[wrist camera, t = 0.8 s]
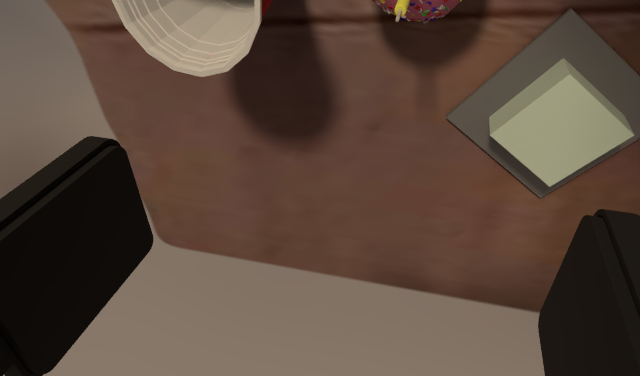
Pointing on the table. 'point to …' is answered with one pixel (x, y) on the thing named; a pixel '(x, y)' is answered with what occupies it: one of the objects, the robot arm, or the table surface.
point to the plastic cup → (194, 31)
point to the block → (559, 124)
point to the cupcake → (417, 8)
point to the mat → (533, 61)
